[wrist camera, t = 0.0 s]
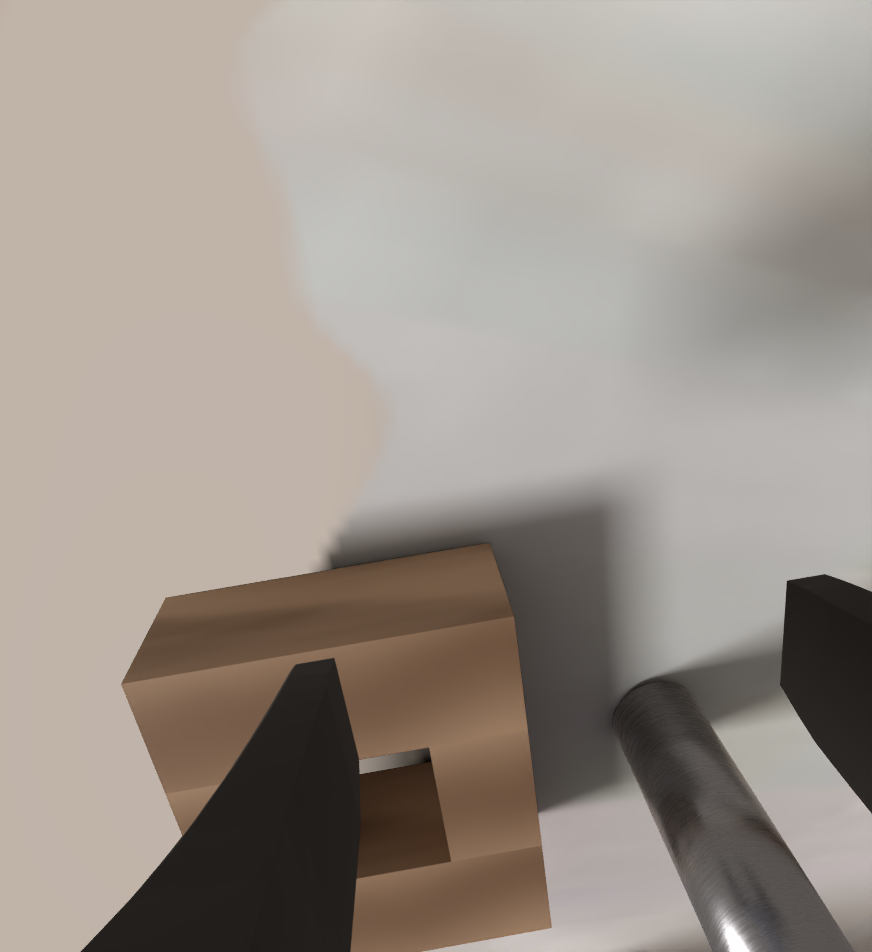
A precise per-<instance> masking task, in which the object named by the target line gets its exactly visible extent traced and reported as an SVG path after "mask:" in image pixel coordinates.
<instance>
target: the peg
mask: <svg viewBox="0 0 872 952" xmlns="http://www.w3.org/2000/svg"><path fill="white" fill-rule="evenodd" d="M613 728H614V731H615V734H616V736H617V738H618V740H619V742H620V745H621V747H622V749H623V751H624V754H625V756H626V758H627V760H628V763H629V765H630V767H631V769H632V771H633V774H634V776H635V778H636V780H637V783H638V785H639V787H640V789H641V792H642V794H643V796H644V798H645V800H646V803H647V805H648V807H649V809H650V812H651V814H652V816H653V818H654V821H655V823H656V825H657V827H658V829H659V832H660V834H661V836H662V838H663V841H664V843H665V845H666V847H667V850H668V852H669V854H670V856H671V858H672V861H673V863H674V865H675V867H676V870H677V872H678V874H679V876H680V878H681V881H682V883H683V885H684V887H685V890H686V892H687V894H688V896H689V899H690V901H691V903H692V905H693V907H694V910H695V912H696V914H697V916H698V919H699V921H700V923H701V925H702V928H703V930H704V932H705V934H706V936H707V939H708V941H709V943H710V945H711V948H712V950H713V952H854V950H853V948H852V947H851V945H850V944H849V942H848V941H847V939H846V937H845V936H844V934H843V933H842V931H841V930H840V928H839V926H838V925H837V923H836V922H835V920H834V919H833V917H832V915H831V914H830V912H829V911H828V909H827V908H826V906H825V904H824V903H823V901H822V900H821V898H820V897H819V895H818V893H817V892H816V890H815V889H814V887H813V885H812V884H811V882H810V881H809V879H808V878H807V876H806V874H805V873H804V871H803V870H802V868H801V867H800V865H799V863H798V862H797V860H796V859H795V857H794V856H793V854H792V852H791V851H790V849H789V848H788V846H787V845H786V843H785V841H784V840H783V838H782V837H781V835H780V834H779V832H778V830H777V829H776V827H775V826H774V824H773V822H772V821H771V819H770V818H769V816H768V815H767V813H766V811H765V810H764V808H763V807H762V805H761V804H760V802H759V800H758V799H757V797H756V796H755V794H754V793H753V791H752V789H751V788H750V786H749V785H748V783H747V782H746V780H745V778H744V777H743V775H742V774H741V772H740V771H739V769H738V767H737V766H736V764H735V763H734V761H733V759H732V758H731V756H730V755H729V753H728V752H727V750H726V748H725V747H724V745H723V744H722V742H721V741H720V739H719V737H718V736H717V734H716V733H715V731H714V730H713V728H712V726H711V725H710V723H709V722H708V720H707V719H706V717H705V715H704V714H703V712H702V711H701V709H700V708H699V706H698V704H697V703H696V701H695V700H694V698H693V697H692V695H691V694H690V693H689V691H688V690H686V689H685V688H684V687H682V686H680V685H677V684H674V683H670V682H655V683H650V684H646V685H643V686H641V687H639V688H637V689H635V690H633V691H632V692H630V693H629V694H628V695H627V696H626V697H624V698H623V700H622V701H621V702H620V703H619V705H618V706H617V708H616V710H615V713H614V717H613Z"/></svg>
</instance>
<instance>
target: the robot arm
mask: <svg viewBox="0 0 872 952" xmlns="http://www.w3.org/2000/svg"><path fill="white" fill-rule="evenodd" d="M780 685H781V687H782V688H783V690H784V692H785V694H786V695H787V697H788V699H789V700H790V702H791V704H792V705H793V707H794V709H795V711H796V712H797V714H798V716H799V717H800V719H801V720H802V722H803V724H804V725H805V727H806V728H807V730H808V731H809V733H810V735H811V736H812V738H813V739H814V741H815V742H816V744H817V745H818V746H819V748H820V749H821V750H822V752H823V753H824V754H825V755H826V757H827V758H828V759H829V760H830V762H831V763H832V764H833V766H834V767H835V768H836V769H837V771H838V772H839V773H840V774H841V776H842V777H843V778H844V779H845V781H846V782H847V783H848V784H849V786H850V787H851V788H852V790H853V791H854V792H855V793H856V794H857V796H858V797H859V798H860V799H861V801H862V802H863V803H864V804H865V806H866V807H867V808H868V809H869V811H870V812H871V813H872V592H871V591H868V590H866V589H863V588H861V587H858V586H856V585H853V584H851V583H848V582H845V581H843V580H840V579H837V578H834V577H831V576H828V575H825V574H824V575H818V576H812V577H806V578H800V579H794V580H789V581H787V589H786V604H785V619H784V635H783V650H782V665H781V681H780ZM360 827H361V808H360V775H359V756H358V752H357V748H356V744H355V740H354V736H353V732H352V728H351V724H350V720H349V715H348V711H347V707H346V703H345V699H344V695H343V691H342V687H341V683H340V679H339V675H338V670H337V666H336V662H335V658H330V659H324V660H318V661H312V662H307V663H301V664H296V665H295V666H294V667H293V668H292V670H291V671H290V673H289V674H288V676H287V678H286V679H285V681H284V683H283V685H282V686H281V688H280V690H279V692H278V693H277V695H276V697H275V699H274V700H273V702H272V704H271V705H270V707H269V709H268V710H267V712H266V714H265V715H264V717H263V719H262V720H261V722H260V724H259V725H258V727H257V729H256V730H255V732H254V733H253V735H252V737H251V738H250V740H249V741H248V743H247V744H246V746H245V747H244V749H243V751H242V752H241V754H240V755H239V757H238V758H237V760H236V761H235V763H234V765H233V766H232V768H231V769H230V771H229V772H228V774H227V775H226V777H225V778H224V780H223V781H222V782H221V784H220V785H219V787H218V788H217V789H216V791H215V792H214V794H213V795H212V796H211V798H210V799H209V801H208V802H207V803H206V805H205V806H204V808H203V809H202V810H201V812H200V813H199V815H198V816H197V817H196V819H195V820H194V821H193V823H192V824H191V826H190V827H189V828H188V830H187V831H186V832H185V833H184V835H183V836H182V837H181V839H180V840H179V841H178V843H177V844H176V845H175V846H174V848H173V849H172V850H171V851H170V853H169V854H168V855H167V856H166V858H165V859H164V860H163V861H162V862H161V864H160V865H159V866H158V867H157V869H156V870H155V871H154V872H153V873H152V874H151V876H150V877H149V878H148V879H147V880H146V882H145V883H144V884H143V885H142V887H141V888H140V889H139V890H138V891H137V892H136V893H135V894H134V896H133V897H132V898H131V899H130V900H129V901H128V902H127V903H126V904H125V906H124V907H123V908H122V909H121V910H120V911H119V912H118V913H117V914H116V915H115V916H114V917H113V918H112V919H111V920H110V921H109V922H108V924H107V925H106V926H105V927H104V928H103V929H102V930H101V931H100V932H99V933H98V934H97V935H96V936H95V937H94V938H93V940H91V941H90V942H89V944H88V945H87V946H86V947H85V948H84V949H83V950H82V951H81V952H351V940H352V928H353V915H354V903H355V891H356V879H357V866H358V853H359V841H360Z"/></svg>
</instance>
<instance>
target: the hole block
mask: <svg viewBox="0 0 872 952" xmlns="http://www.w3.org/2000/svg"><path fill="white" fill-rule="evenodd" d="M330 658H335V662H336V666H337V670H338V675H339V679H340V683H341V687H342V691H343V695H344V699H345V703H346V707H347V711H348V715H349V720H350V724H351V728H352V732H353V736H354V740H355V744H356V748H357V752H358V756H359V760H361V759H366V758H372V757H377V756H383V755H389V754H395V753H400V752H406V751H412V750H417V749H423V748H429V750H430V755H431V760H432V762H427V763H421V764H416V765H410V766H404V767H399V768H393V769H387V770H382V771H376V772H370V773H365V774H359V775H360V808H361V827H360V841H359V853H358V866H357V879H356V891H355V903H354V915H353V928H352V940H351V952H422V951H427V950H433V949H438V948H444V947H449V946H455V945H460V944H466V943H471V942H477V941H482V940H488V939H493V938H499V937H504V936H510V935H515V934H520V933H526V932H531V931H537V930H542V929H548V928H552V926H551V918H550V910H549V901H548V893H547V885H546V877H545V868H544V860H543V852H542V843H541V835H540V827H539V819H538V810H537V802H536V794H535V786H534V777H533V769H532V761H531V752H530V744H529V736H528V728H527V719H526V711H525V703H524V694H523V686H522V678H521V670H520V661H519V653H518V645H517V637H516V628H515V620H514V615H513V612H512V609H511V606H510V603H509V600H508V597H507V594H506V591H505V588H504V585H503V582H502V579H501V576H500V573H499V570H498V567H497V564H496V561H495V558H494V555H493V552H492V549H491V545H490V543H485V544H479V545H473V546H467V547H461V548H456V549H450V550H444V551H438V552H432V553H426V554H420V555H414V556H409V557H403V558H397V559H391V560H385V561H379V562H373V563H367V564H361V565H356V566H350V567H344V568H338V569H332V570H326V571H320V572H314V573H309V574H303V575H297V576H292V577H286V578H279V579H273V580H267V581H261V582H256V583H250V584H244V585H238V586H233V587H226V588H220V589H215V590H209V591H203V592H197V593H191V594H185V595H179V596H173V597H168V598H165V600H164V602H163V604H162V606H161V608H160V610H159V612H158V614H157V616H156V618H155V620H154V622H153V624H152V626H151V628H150V629H149V631H148V633H147V635H146V637H145V639H144V641H143V643H142V645H141V647H140V649H139V651H138V653H137V655H136V657H135V658H134V660H133V662H132V664H131V666H130V668H129V670H128V672H127V674H126V676H125V678H124V680H123V682H122V684H121V685H122V687H123V690H124V692H125V694H126V697H127V700H128V702H129V704H130V707H131V710H132V712H133V714H134V717H135V719H136V722H137V724H138V727H139V729H140V732H141V734H142V737H143V739H144V742H145V744H146V747H147V749H148V752H149V754H150V757H151V759H152V762H153V764H154V766H155V769H156V771H157V774H158V776H159V779H160V781H161V784H162V786H163V789H164V791H165V793H166V796H167V799H168V801H169V803H170V806H171V808H172V811H173V814H174V816H175V818H176V821H177V823H178V826H179V828H180V831H181V833H182V836H183V835H184V833H185V832H186V831H187V830H188V828H189V827H190V826H191V824H192V823H193V821H194V820H195V819H196V817H197V816H198V815H199V813H200V812H201V810H202V809H203V808H204V806H205V805H206V803H207V802H208V801H209V799H210V798H211V796H212V795H213V794H214V792H215V791H216V789H217V788H218V787H219V785H220V784H221V782H222V781H223V780H224V778H225V777H226V775H227V774H228V772H229V771H230V769H231V768H232V766H233V765H234V763H235V761H236V760H237V758H238V757H239V755H240V754H241V752H242V751H243V749H244V747H245V746H246V744H247V743H248V741H249V740H250V738H251V737H252V735H253V733H254V732H255V730H256V729H257V727H258V725H259V724H260V722H261V720H262V719H263V717H264V715H265V714H266V712H267V710H268V709H269V707H270V705H271V704H272V702H273V700H274V699H275V697H276V695H277V693H278V692H279V690H280V688H281V686H282V685H283V683H284V681H285V679H286V678H287V676H288V674H289V673H290V671H291V670H292V668H293V667H294V666H295V665H296V664H301V663H307V662H312V661H318V660H324V659H330Z"/></svg>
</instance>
